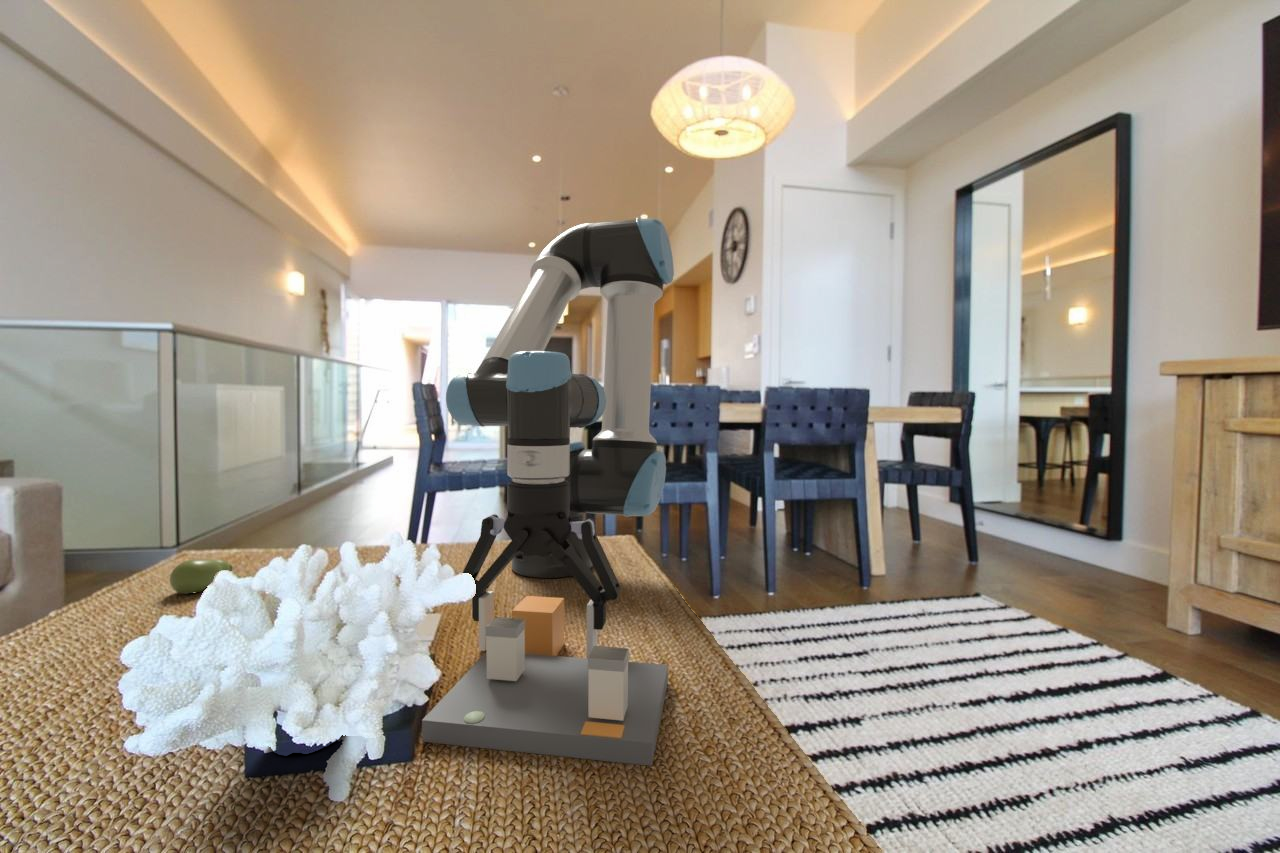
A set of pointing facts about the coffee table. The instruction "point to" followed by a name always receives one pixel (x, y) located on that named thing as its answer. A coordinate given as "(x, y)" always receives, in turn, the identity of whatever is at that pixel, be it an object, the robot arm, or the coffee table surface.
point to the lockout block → (542, 624)
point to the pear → (196, 574)
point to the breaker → (505, 648)
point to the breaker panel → (550, 712)
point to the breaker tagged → (608, 682)
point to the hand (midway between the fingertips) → (538, 650)
